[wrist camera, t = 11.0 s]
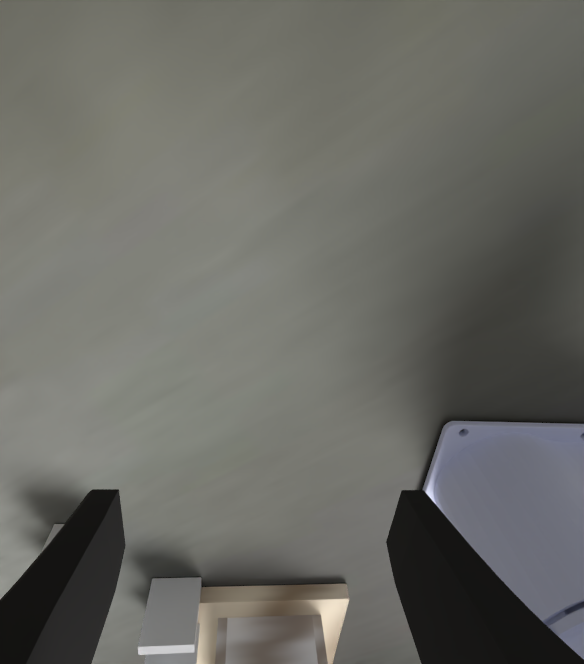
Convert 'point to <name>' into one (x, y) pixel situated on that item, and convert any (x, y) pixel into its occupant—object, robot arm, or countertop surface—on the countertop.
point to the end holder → (271, 624)
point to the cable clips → (167, 619)
